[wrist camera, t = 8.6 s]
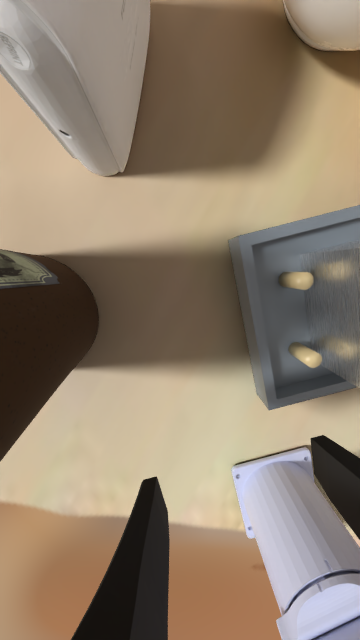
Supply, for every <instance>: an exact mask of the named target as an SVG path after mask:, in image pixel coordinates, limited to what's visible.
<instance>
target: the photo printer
mask: <svg viewBox="0 0 360 640" xmlns="http://www.w3.org/2000/svg"><path fill="white" fill-rule="evenodd" d="M149 33H150V0H0V73H1V74H2V76H3V77H4V78H5V79H6V80H7V81H8V83H9V84H10V85H11V86H12V87H13V88H14V89H15V91H16V92H17V93H18V94H19V95H20V97H21V98H22V99H23V100H24V101H25V102H26V104H27V105H28V106H29V107H30V108H31V110H32V111H33V112H34V113H35V114H36V115H37V117H38V118H39V119H40V120H41V121H42V123H43V124H44V125H45V126H46V127H47V128H48V130H49V131H50V132H51V133H52V134H53V135H54V137H55V138H56V139H57V140H58V141H59V143H60V144H61V145H62V146H63V147H64V149H65V150H66V151H67V152H68V153H69V154H70V155H71V156H72V157H73V158H75V159H78V160H79V161H80V162H81V163H82V164H83V165H84V166H85V167H86V168H87V169H88V170H89V171H91V172H93V173H95V174H98V175H102V176H110V175H114V174H117V173H118V172H123V171H124V169H125V166H126V164H127V161H128V157H129V153H130V149H131V144H132V140H133V135H134V130H135V124H136V119H137V113H138V108H139V102H140V96H141V90H142V84H143V77H144V70H145V64H146V56H147V49H148V42H149Z"/></svg>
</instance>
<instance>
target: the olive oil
mask: <svg viewBox="0 0 360 640" xmlns="http://www.w3.org/2000/svg"><path fill="white" fill-rule="evenodd" d="M98 321H99V319H98V309H97V305H96V302H95V299H94V297H93V294H92V293H91V291H90V289H89V287H88V286H87V285H86V283H85V282H84V281H83V280H82V279H81V277H80V276H79V275H77V274H76V273H75V272H74V271H73V270H71V269H70V268H69V267H67V266H65V265H64V264H62V263H60V262H58V261H55V260H53V259H50V258H46V257H42V256H37V255H31V254H25V253H18V252H13V251H8V250H2V249H0V461H1V460H2V459H3V457H4V456H5V455H6V453H7V452H8V451H9V450H10V448H11V447H12V446H13V444H14V443H15V442H16V441H17V439H18V438H19V437H20V435H21V434H22V433H23V432H24V430H25V429H26V428H27V426H28V425H29V424H30V423H31V421H32V420H33V419H34V418H35V416H36V415H37V414H38V412H39V411H40V410H41V409H42V407H43V406H44V405H45V403H46V402H47V401H48V400H49V398H50V397H51V396H52V395H53V393H54V392H55V391H56V389H57V388H58V387H59V386H60V384H61V383H62V382H63V381H64V379H65V378H66V377H67V376H68V375H69V373H70V372H71V371H72V370H73V369H74V367H75V366H76V365H77V364H78V363H79V361H80V360H81V359H82V358H83V357H84V355H85V354H86V353H87V352H88V350H89V349H90V347H91V346H92V344H93V342H94V340H95V337H96V334H97V330H98Z"/></svg>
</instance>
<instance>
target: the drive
mask: <svg viewBox="0 0 360 640" xmlns="http://www.w3.org/2000/svg"><path fill="white" fill-rule="evenodd" d="M300 259H301V268H302V272H309V273H311V274H312V276H313V279H314V281H313V284H312V286H311V287H310V288H309V289H306V290H304V293H305V302H306V310H307V319H308V327H309V336H310V344H311V350H313V351H315V352H317V353H319V354H320V355H321V356H322V362H321V365H322V366H324V367H325V368H327V369H329V370H330V371H332V372H334V373H335V374H337V375H338V376H340V377H342V378H343V379H345V380H347V381H348V382H350V383H352V384H353V385H355V386H356V387H358V388H360V240H359V241H352V242H347V243H343V244H339V245H335V246H331V247H327V248H323V249H320V250H316V251H312V252H308V253H304V254H300Z"/></svg>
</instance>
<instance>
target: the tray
mask: <svg viewBox="0 0 360 640" xmlns="http://www.w3.org/2000/svg"><path fill="white" fill-rule="evenodd" d="M359 240H360V205H358V206H354V207H350V208H346V209H342V210H338V211H334V212H331V213H327V214H323V215H319V216H315V217H311V218H307V219H303V220H299V221H295V222H291V223H287V224H283V225H280V226H276V227H272V228H268V229H264V230H260V231H256V232H252V233H248V234H244V235H240V236H237V237H235V238H233V239H230V240H228V243H229V248H230V253H231V259H232V264H233V269H234V275H235V280H236V285H237V291H238V296H239V301H240V307H241V312H242V317H243V323H244V328H245V333H246V339H247V344H248V349H249V355H250V360H251V365H252V371H253V376H254V381H255V387H256V392H257V395H258V396H259V398H260V399H261V400H262V402H263V403H264V404H265V406H266V407H267V408H268V410H272V409H276V408H280V407H284V406H287V405H291V404H295V403H299V402H303V401H306V400H310V399H314V398H318V397H322V396H326V395H329V394H333V393H337V392H341V391H345V390H348V389H352V388H356V386H355V385H353V384H352V383H350V382H348V381H347V380H345V379H343V378H342V377H340V376H338V375H337V374H335V373H334V372H332V371H330V370H329V369H327V368H325V367H324V366H322V365H321V362H322V356H321V355H320V354H319V353H317V352H315V351H313V350H311V344H310V336H309V327H308V319H307V310H306V302H305V293H304V290H306V289H309V288H310V287H311V286H312V284H313V281H314V279H313V276H312V274H311V273H309V272H302V268H301V259H300V254H304V253H308V252H312V251H316V250H320V249H323V248H327V247H331V246H335V245H339V244H343V243H347V242H352V241H359Z"/></svg>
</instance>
